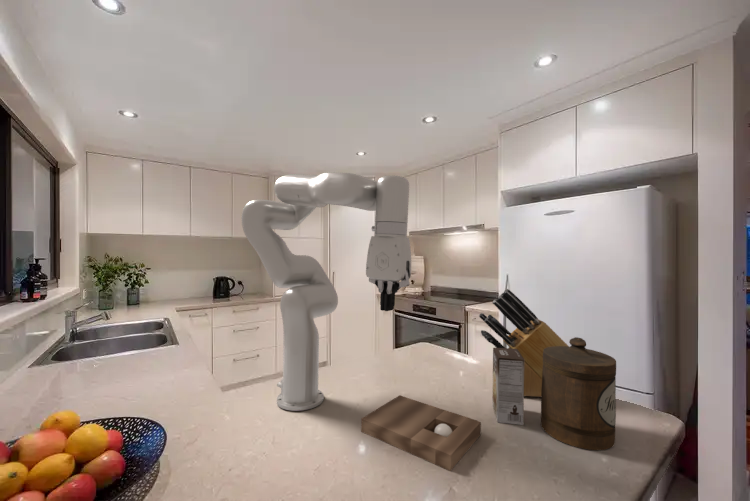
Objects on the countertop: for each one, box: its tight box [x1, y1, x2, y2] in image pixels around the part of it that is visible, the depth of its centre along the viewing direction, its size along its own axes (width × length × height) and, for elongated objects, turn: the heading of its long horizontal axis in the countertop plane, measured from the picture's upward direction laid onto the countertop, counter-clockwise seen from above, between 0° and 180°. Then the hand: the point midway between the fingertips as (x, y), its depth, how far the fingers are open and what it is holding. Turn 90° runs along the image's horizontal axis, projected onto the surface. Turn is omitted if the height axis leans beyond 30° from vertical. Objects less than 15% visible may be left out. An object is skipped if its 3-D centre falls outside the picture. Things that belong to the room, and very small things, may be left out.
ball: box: [434, 424, 452, 437], centre depth 72 cm, size 4×4×4 cm
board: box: [360, 395, 482, 472], centre depth 76 cm, size 22×16×3 cm
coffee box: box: [492, 347, 525, 426], centre depth 85 cm, size 9×6×16 cm
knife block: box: [478, 288, 569, 398], centre depth 100 cm, size 11×35×31 cm, turn 83°
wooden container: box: [540, 336, 617, 451], centre depth 78 cm, size 15×15×22 cm
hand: (387, 309), depth 77 cm, fingers closed
